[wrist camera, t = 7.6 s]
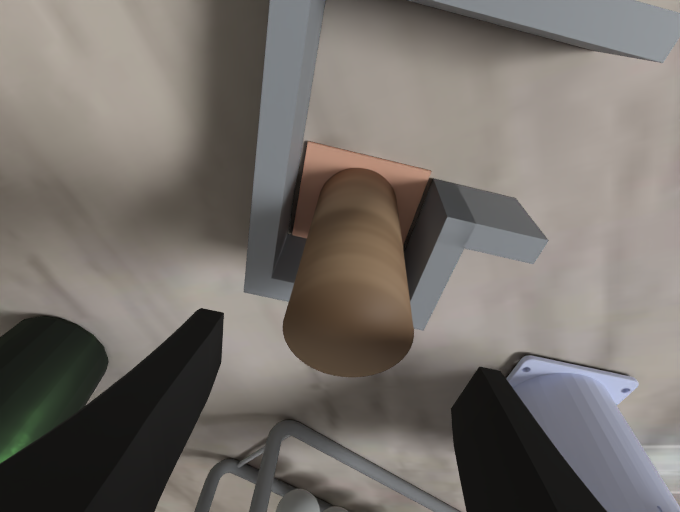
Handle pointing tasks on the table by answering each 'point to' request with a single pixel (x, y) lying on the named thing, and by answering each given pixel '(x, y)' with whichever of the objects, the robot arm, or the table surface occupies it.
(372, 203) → the peg
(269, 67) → the channel
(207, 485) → the newton's cradle
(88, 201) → the table surface
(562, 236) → the table surface
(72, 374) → the potion bottle
